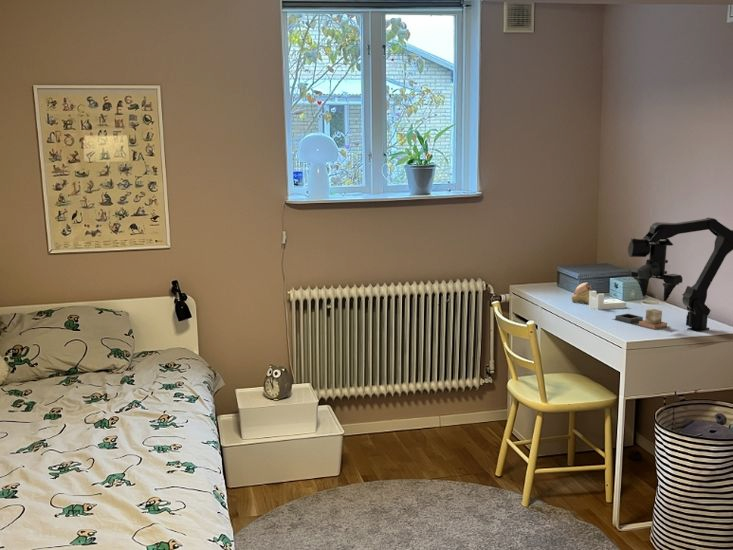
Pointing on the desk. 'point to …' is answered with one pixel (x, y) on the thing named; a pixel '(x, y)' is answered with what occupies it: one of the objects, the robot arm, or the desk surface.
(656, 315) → the wooden block
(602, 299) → the bracket
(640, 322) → the base plate
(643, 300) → the desk surface
